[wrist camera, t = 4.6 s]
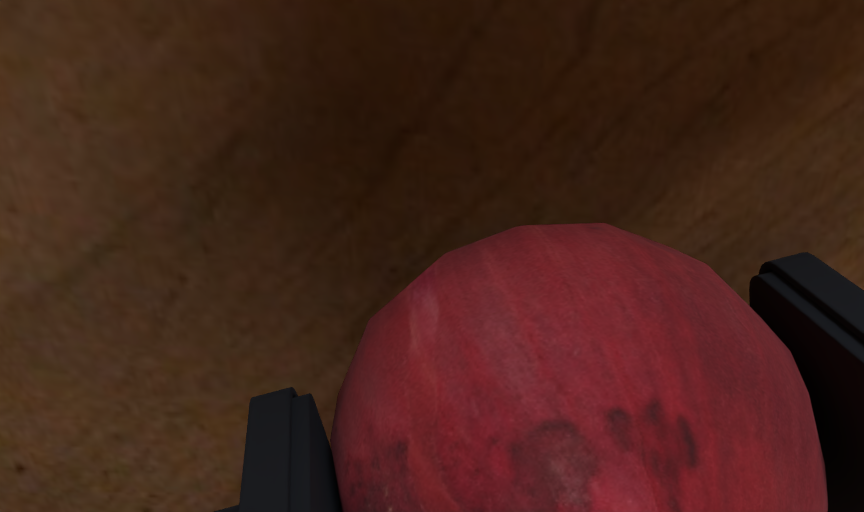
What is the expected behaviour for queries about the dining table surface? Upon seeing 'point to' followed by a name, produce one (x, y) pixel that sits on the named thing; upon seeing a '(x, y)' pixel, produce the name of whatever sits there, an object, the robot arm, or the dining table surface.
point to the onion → (573, 387)
